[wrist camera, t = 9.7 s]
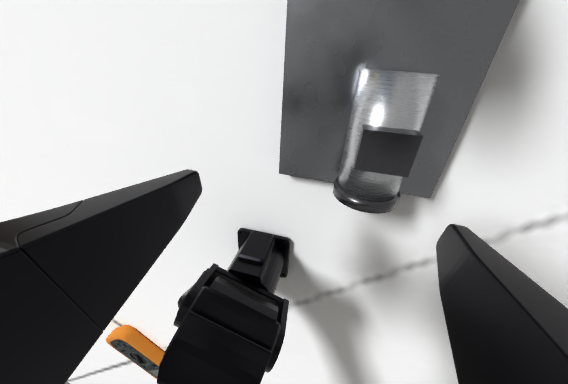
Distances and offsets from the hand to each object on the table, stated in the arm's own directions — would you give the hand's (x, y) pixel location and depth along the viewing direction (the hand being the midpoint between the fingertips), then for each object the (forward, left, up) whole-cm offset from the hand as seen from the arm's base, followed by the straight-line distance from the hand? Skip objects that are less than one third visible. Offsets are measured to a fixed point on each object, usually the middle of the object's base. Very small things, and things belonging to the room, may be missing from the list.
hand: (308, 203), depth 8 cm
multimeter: (-58, +35, -14) cm, 69 cm away
